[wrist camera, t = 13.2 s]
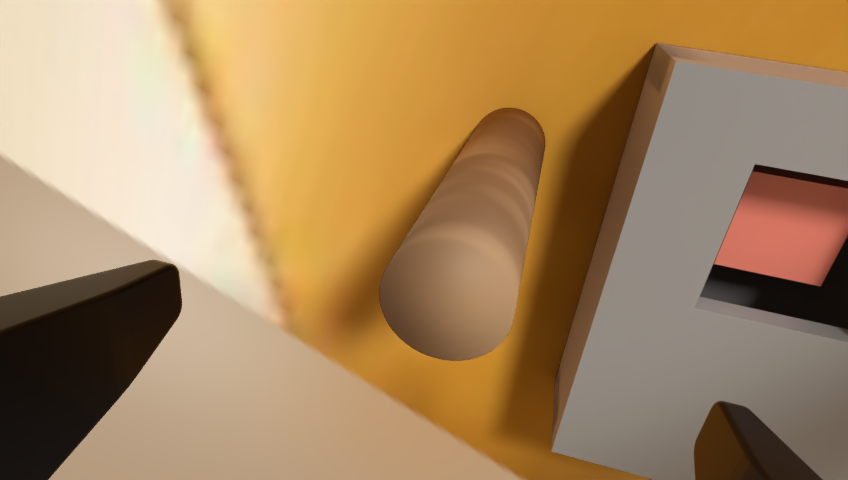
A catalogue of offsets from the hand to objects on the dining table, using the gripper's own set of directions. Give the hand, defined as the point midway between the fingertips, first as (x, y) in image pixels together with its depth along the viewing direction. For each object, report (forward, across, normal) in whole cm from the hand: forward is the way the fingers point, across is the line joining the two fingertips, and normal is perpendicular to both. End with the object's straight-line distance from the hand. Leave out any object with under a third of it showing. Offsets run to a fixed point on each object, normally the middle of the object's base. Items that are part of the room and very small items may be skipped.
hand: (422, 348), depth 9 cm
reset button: (+12, -9, +1) cm, 15 cm away
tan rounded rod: (+12, 0, 0) cm, 13 cm away
